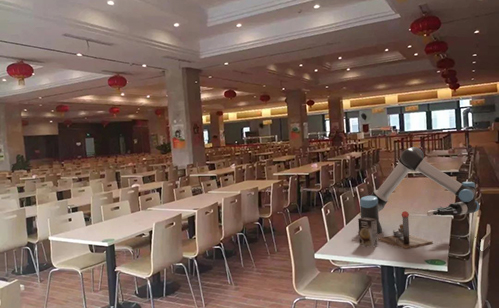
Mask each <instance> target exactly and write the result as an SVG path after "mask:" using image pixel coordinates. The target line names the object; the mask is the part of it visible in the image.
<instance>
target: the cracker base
mask: <svg viewBox="0 0 499 308" xmlns="http://www.w3.org/2000/svg"><path fill="white" fill-rule="evenodd" d="M397 230H398V231H399V232H400V233H403V223H402V224H401V223H400V224H399V227H398V229H397ZM377 239H378V241H380V242H383V243H386V244H389V245H392V246H396V247H398V248H401V249H404V250H409V249H413V248H417V247H422V246H426V245H427V246H428V245H432V244H433V241H432V240H429V239H425V238H422V237H419V236H415V235H412V234H409V241H410V244H404V243H403V242H402V241H401V240H400V239H399V238H397V237H396V236H394V235H393V234H392V235H388V236H387V235H386V236H383V237H377Z"/></svg>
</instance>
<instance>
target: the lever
mask: <svg viewBox="0 0 499 308" xmlns="http://www.w3.org/2000/svg"><path fill="white" fill-rule="evenodd" d="M409 216H410V214H409V212H408V211H402V212H401V217H402V224H403V233H400V232H399V231H398V229H397V230H393V231H392V233H393V234H392V235H394V236H396V237H397V238H399V239H400V240H401V241H402V242H403V243H404V244H410V241H409V235H410V224H409Z"/></svg>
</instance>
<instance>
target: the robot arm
mask: <svg viewBox="0 0 499 308" xmlns="http://www.w3.org/2000/svg"><path fill="white" fill-rule="evenodd" d="M397 162H398V164H396V166H395V167H394V169H393V170H392V171H391V173H390V174H389V175H388V176H387V177H386V179H385V180H384V182H383V183H382V184H381V185H380V186H379V188H377V189H374V190H373V192H372V193H371V194H370V195H365V196H362V197H361V198H360V200H359V208H360V209H359V210H360V218H363V217H366V218H373V219H377V235H379V234H381V233H382V232H383V228H382V224H381V222H380V219H379V218H380V217H379V216H380V215H379V214H380V213H379V212H380V211H381V212H382V210H383V209H384V208H385V206H386V205H387V203H388V202H389V197H390V196H391V195H392V193H393V192H394V191H395V189H396V188H397V187H398V186H399V185H400V183H401V182H402V181H403V180H404V179H405V178H406V176H407V175H408V174H409V172H413V171H415V172H419V173H421V174H422V175H424V176H425V177H427V178H428V179H430V180H431V181H433V182H435V183H436V184H437V185H439V186H441V187H442V188H443V189H446V190H447V191H448V192H450V193H452V194H453V195H455V196H456V197H458V198H459V200H460V201H459V202H458V201H457V202H452V203H449V205H448V206H444V207H442V206H439V207H436V208H432V209H431V210H427V211H426V216H427V217H432V216H437V215H438V216H439V215H441V216H447V215H451V216H452V217H455V216H462V215H466V214H473V213H477V212H478V211H479V210H480V208H481V207H480V203H479V202H478V201H477V200H476V183H475V182H473V181H463V182H462V183H461V182H460V181H458V180H456V179H454V178H453V177H451V176H450V175H448V174H447V173H445V172H443V171H441V170H440V169H438V168H437V167H435V166H434V165H432V164H430V163H429V162H428V161H426V159H425V158H424V152H423V151H422V149H420V148H418V147H415V146H411V147H408V148H406V149H404V150H403V151H402V153H401V154H400V157H399V159H398V160H397Z"/></svg>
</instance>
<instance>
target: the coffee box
mask: <svg viewBox="0 0 499 308" xmlns="http://www.w3.org/2000/svg"><path fill="white" fill-rule="evenodd" d="M357 220H358V236H359V237H358V239H359V240H358V242H359V246H364V247H370V248H375V247H377V246H378V245H379V243H378V241H379V240H378V234H377V219H373V218H366V217H363V218H361V217H360V218H358V219H357Z"/></svg>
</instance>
